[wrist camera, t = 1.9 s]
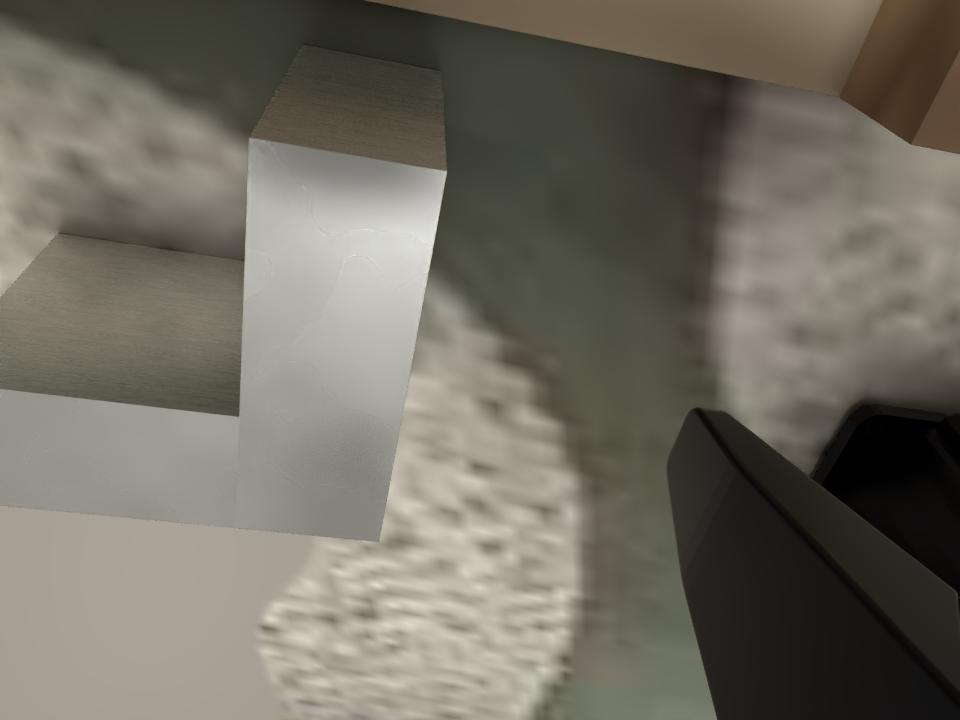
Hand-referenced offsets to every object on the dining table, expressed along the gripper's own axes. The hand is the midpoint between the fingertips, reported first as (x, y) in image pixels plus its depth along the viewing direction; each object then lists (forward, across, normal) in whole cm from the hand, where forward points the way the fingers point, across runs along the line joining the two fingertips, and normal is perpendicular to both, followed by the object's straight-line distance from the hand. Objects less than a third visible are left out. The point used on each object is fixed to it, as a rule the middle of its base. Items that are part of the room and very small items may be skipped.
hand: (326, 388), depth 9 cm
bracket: (+7, +2, +1) cm, 8 cm away
